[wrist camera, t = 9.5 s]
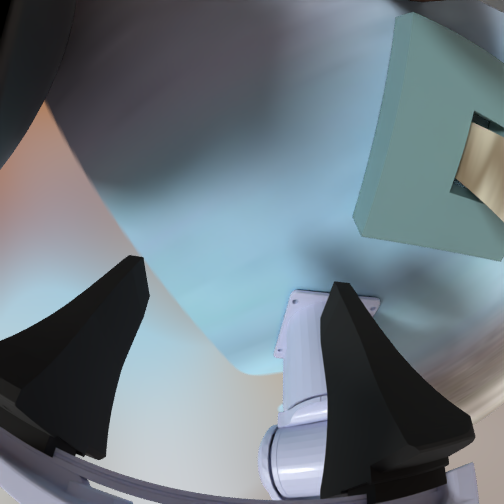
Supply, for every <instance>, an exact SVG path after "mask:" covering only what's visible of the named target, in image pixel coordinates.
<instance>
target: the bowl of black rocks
mask: <svg viewBox="0 0 504 504" xmlns="http://www.w3.org/2000/svg"><path fill="white" fill-rule="evenodd" d="M75 5H76V0H0V169H1V168H2V167H3V165H4V164H5V163H6V161H7V160H8V159H9V157H10V156H11V155H12V153H13V152H14V150H15V149H16V147H17V146H18V144H19V143H20V141H21V140H22V138H23V137H24V135H25V134H26V132H27V130H28V129H29V127H30V125H31V123H32V122H33V120H34V118H35V116H36V115H37V113H38V111H39V109H40V107H41V105H42V104H43V102H44V100H45V98H46V95H47V93H48V91H49V89H50V87H51V85H52V82H53V80H54V78H55V75H56V73H57V71H58V68H59V65H60V63H61V60H62V57H63V54H64V51H65V48H66V45H67V42H68V38H69V35H70V31H71V27H72V22H73V17H74V12H75Z"/></svg>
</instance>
